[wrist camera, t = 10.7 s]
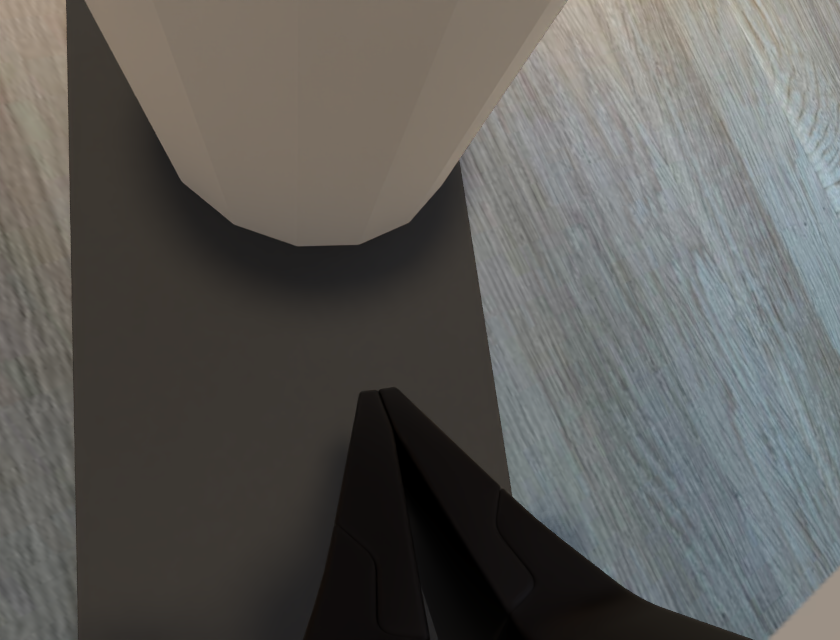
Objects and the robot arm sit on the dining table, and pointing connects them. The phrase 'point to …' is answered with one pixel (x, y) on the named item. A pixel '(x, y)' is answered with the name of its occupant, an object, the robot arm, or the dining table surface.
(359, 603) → the robot arm
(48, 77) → the dining table surface
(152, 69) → the container
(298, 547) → the plate
